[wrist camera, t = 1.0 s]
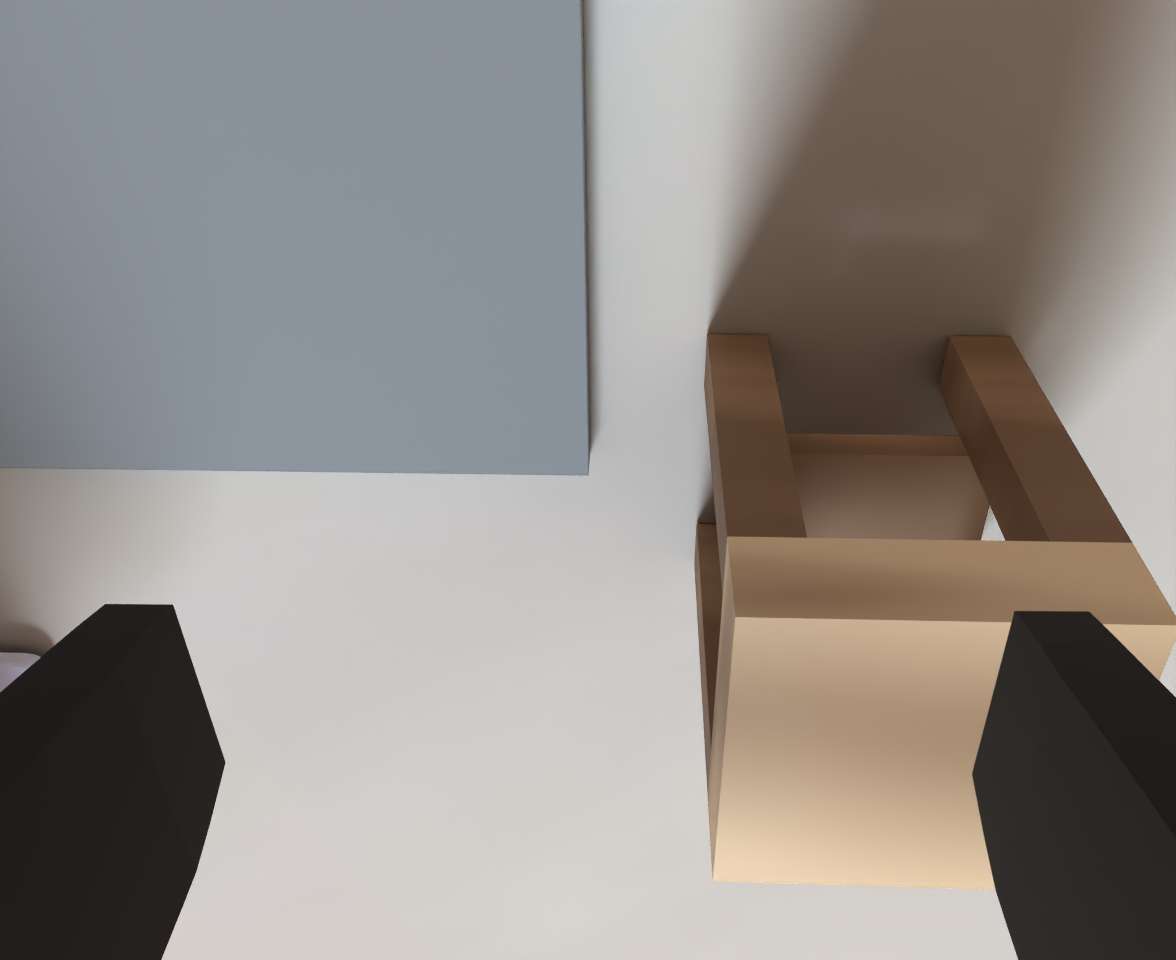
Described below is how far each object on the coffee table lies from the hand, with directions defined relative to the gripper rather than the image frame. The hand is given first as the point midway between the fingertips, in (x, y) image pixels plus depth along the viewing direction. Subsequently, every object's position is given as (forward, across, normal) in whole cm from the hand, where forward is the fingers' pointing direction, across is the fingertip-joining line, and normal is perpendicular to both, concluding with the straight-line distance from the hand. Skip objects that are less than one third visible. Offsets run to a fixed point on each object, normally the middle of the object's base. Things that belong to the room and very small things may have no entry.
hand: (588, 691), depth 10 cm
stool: (+10, -4, +4) cm, 11 cm away
